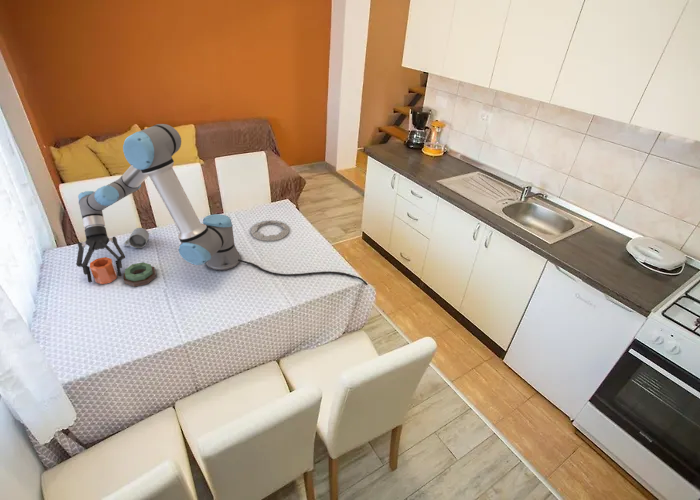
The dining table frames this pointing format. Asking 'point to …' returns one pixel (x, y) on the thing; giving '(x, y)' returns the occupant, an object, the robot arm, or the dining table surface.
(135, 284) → the walnut ring
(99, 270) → the orange hollow faceted cylinder
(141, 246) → the grey flanged cylinder
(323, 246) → the dining table surface
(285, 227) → the ring
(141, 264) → the sage ring
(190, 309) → the dining table surface
